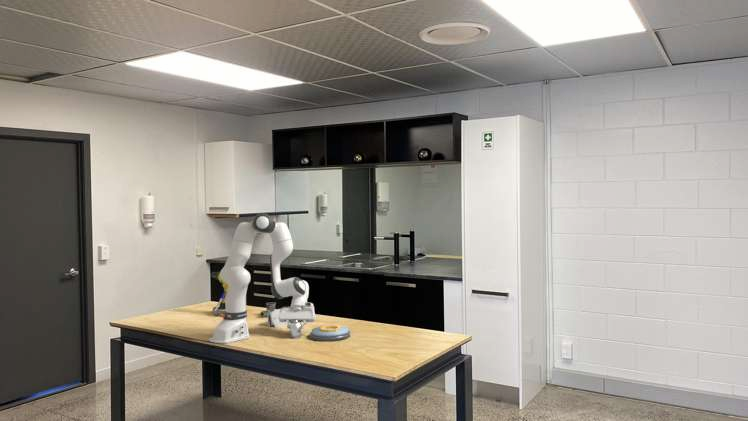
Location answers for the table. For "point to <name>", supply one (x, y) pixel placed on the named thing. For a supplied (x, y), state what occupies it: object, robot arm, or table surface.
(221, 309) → the cordless drill
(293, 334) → the silver can
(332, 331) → the turntable platter
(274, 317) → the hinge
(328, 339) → the turntable base
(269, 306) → the pipe
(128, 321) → the table surface
